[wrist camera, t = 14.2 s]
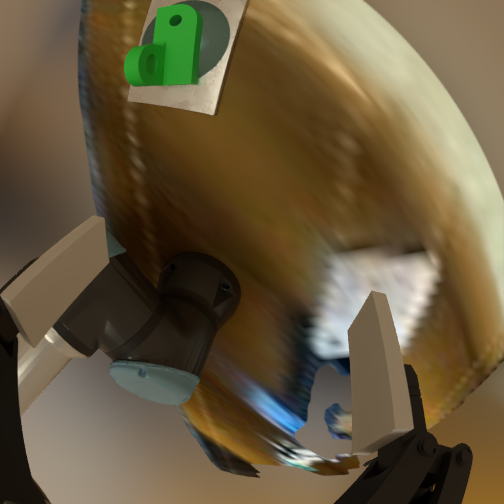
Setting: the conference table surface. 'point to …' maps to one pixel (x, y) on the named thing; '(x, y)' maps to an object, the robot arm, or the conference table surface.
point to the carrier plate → (210, 59)
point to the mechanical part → (168, 50)
